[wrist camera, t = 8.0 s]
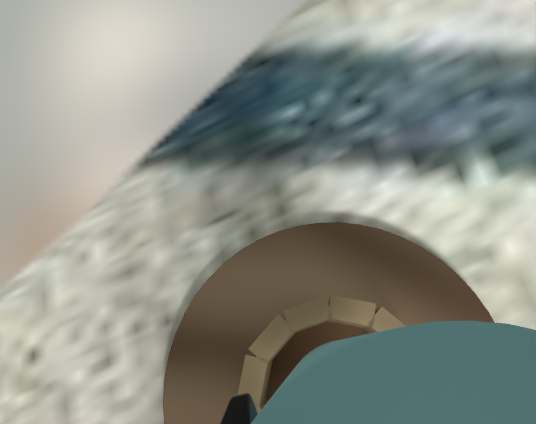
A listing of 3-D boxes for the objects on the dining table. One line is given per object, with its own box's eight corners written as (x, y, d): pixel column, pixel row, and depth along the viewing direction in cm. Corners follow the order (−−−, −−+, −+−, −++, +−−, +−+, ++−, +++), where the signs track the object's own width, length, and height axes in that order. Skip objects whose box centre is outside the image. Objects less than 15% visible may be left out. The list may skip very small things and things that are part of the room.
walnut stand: (505, 649, 19) (548, 716, 15) (127, 540, 21) (92, 578, 18) (523, 254, 23) (560, 240, 20) (209, 202, 25) (194, 181, 22)
